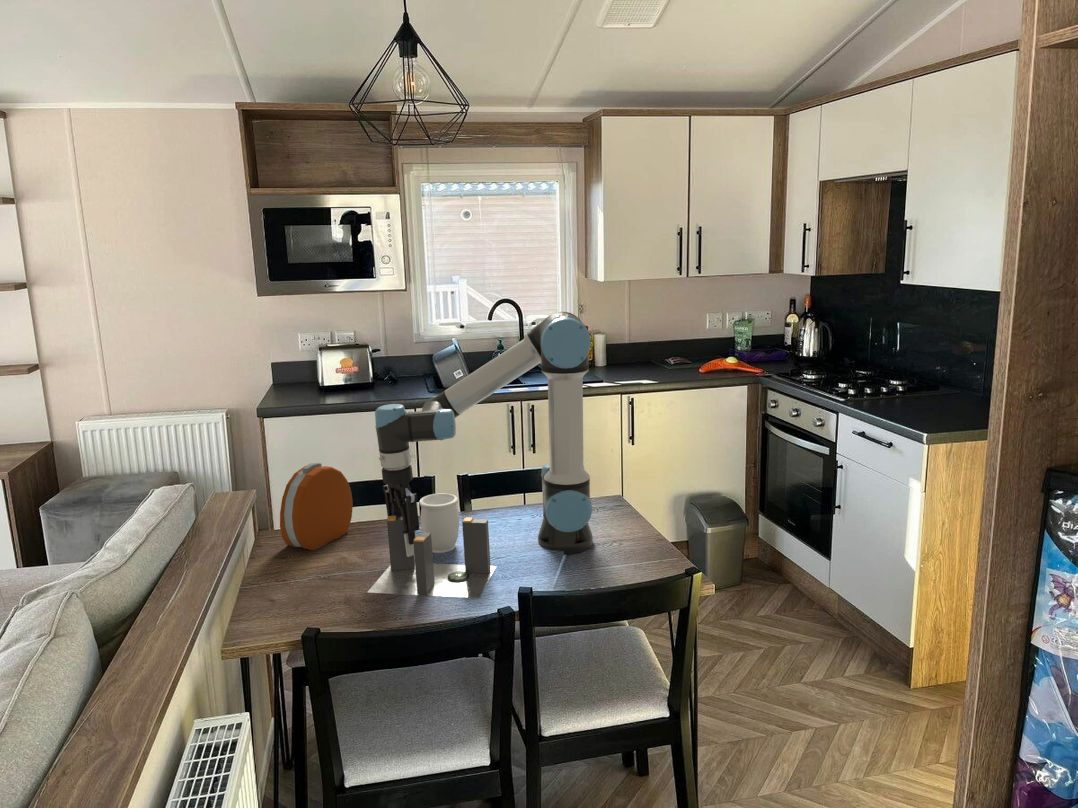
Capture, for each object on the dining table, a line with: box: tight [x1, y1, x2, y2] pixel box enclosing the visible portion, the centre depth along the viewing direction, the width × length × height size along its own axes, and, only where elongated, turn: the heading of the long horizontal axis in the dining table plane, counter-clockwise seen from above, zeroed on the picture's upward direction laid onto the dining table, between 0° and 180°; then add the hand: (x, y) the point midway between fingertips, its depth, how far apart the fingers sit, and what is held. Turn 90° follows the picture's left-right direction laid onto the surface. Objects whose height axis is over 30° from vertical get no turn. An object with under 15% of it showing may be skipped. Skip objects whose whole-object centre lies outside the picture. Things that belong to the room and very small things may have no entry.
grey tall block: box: [386, 515, 415, 571], centre depth 210 cm, size 6×2×14 cm, turn 97°
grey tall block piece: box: [461, 516, 491, 573], centre depth 206 cm, size 6×2×14 cm, turn 79°
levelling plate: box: [367, 563, 497, 599], centre depth 204 cm, size 28×18×2 cm, turn 79°
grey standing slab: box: [413, 531, 435, 596], centre depth 197 cm, size 6×2×14 cm, turn 170°
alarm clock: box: [279, 462, 354, 551], centre depth 234 cm, size 22×10×23 cm, turn 153°
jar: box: [419, 492, 460, 554], centre depth 223 cm, size 11×10×15 cm
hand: (407, 552), depth 210 cm, fingers closed on grey tall block, 4 cm apart
